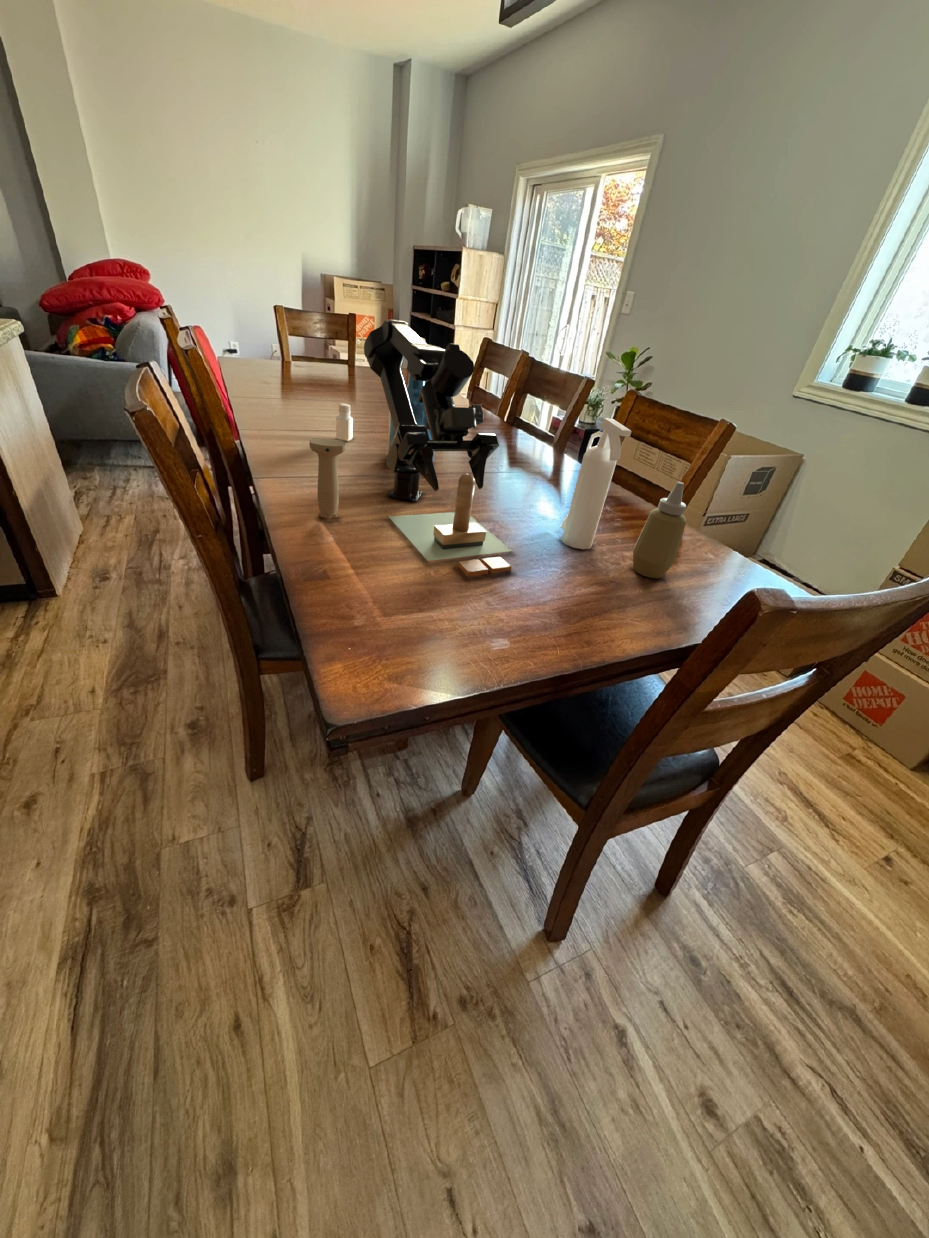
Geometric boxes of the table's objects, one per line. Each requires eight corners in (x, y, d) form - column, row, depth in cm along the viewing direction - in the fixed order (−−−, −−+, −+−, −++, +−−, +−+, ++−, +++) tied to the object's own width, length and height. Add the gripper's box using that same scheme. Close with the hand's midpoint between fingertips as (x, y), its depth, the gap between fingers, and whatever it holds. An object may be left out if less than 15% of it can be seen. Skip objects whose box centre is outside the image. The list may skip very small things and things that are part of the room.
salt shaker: (335, 439, 148) (335, 405, 143) (340, 436, 152) (340, 402, 146) (348, 442, 148) (348, 407, 143) (353, 438, 151) (353, 405, 146)
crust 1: (456, 569, 91) (458, 561, 90) (476, 566, 92) (477, 559, 92) (467, 580, 88) (468, 571, 87) (487, 577, 90) (488, 569, 89)
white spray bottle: (576, 529, 114) (607, 412, 101) (602, 554, 105) (641, 428, 91) (549, 529, 112) (577, 409, 99) (573, 554, 103) (609, 425, 89)
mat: (387, 520, 105) (387, 516, 104) (464, 514, 113) (465, 511, 112) (426, 564, 91) (427, 560, 90) (511, 555, 99) (512, 551, 98)
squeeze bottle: (663, 586, 96) (699, 494, 86) (622, 571, 99) (652, 481, 89) (672, 572, 102) (707, 484, 92) (633, 558, 105) (663, 472, 95)
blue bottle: (433, 470, 136) (445, 344, 120) (383, 464, 135) (389, 336, 119) (436, 456, 148) (448, 339, 131) (390, 450, 147) (396, 331, 130)
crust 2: (480, 566, 93) (481, 558, 92) (498, 564, 95) (500, 556, 94) (491, 576, 90) (492, 568, 89) (510, 574, 92) (511, 566, 91)
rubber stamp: (442, 550, 94) (450, 478, 87) (432, 540, 98) (440, 470, 90) (484, 545, 99) (495, 477, 91) (473, 536, 102) (483, 469, 94)
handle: (345, 524, 100) (345, 447, 92) (310, 522, 99) (308, 444, 91) (345, 515, 104) (345, 439, 96) (312, 513, 103) (310, 436, 94)
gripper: (408, 382, 85) (429, 470, 83) (503, 388, 93) (523, 468, 92) (389, 419, 95) (407, 498, 93) (476, 421, 103) (494, 494, 101)
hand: (459, 489), depth 94 cm, fingers open, 9 cm apart
